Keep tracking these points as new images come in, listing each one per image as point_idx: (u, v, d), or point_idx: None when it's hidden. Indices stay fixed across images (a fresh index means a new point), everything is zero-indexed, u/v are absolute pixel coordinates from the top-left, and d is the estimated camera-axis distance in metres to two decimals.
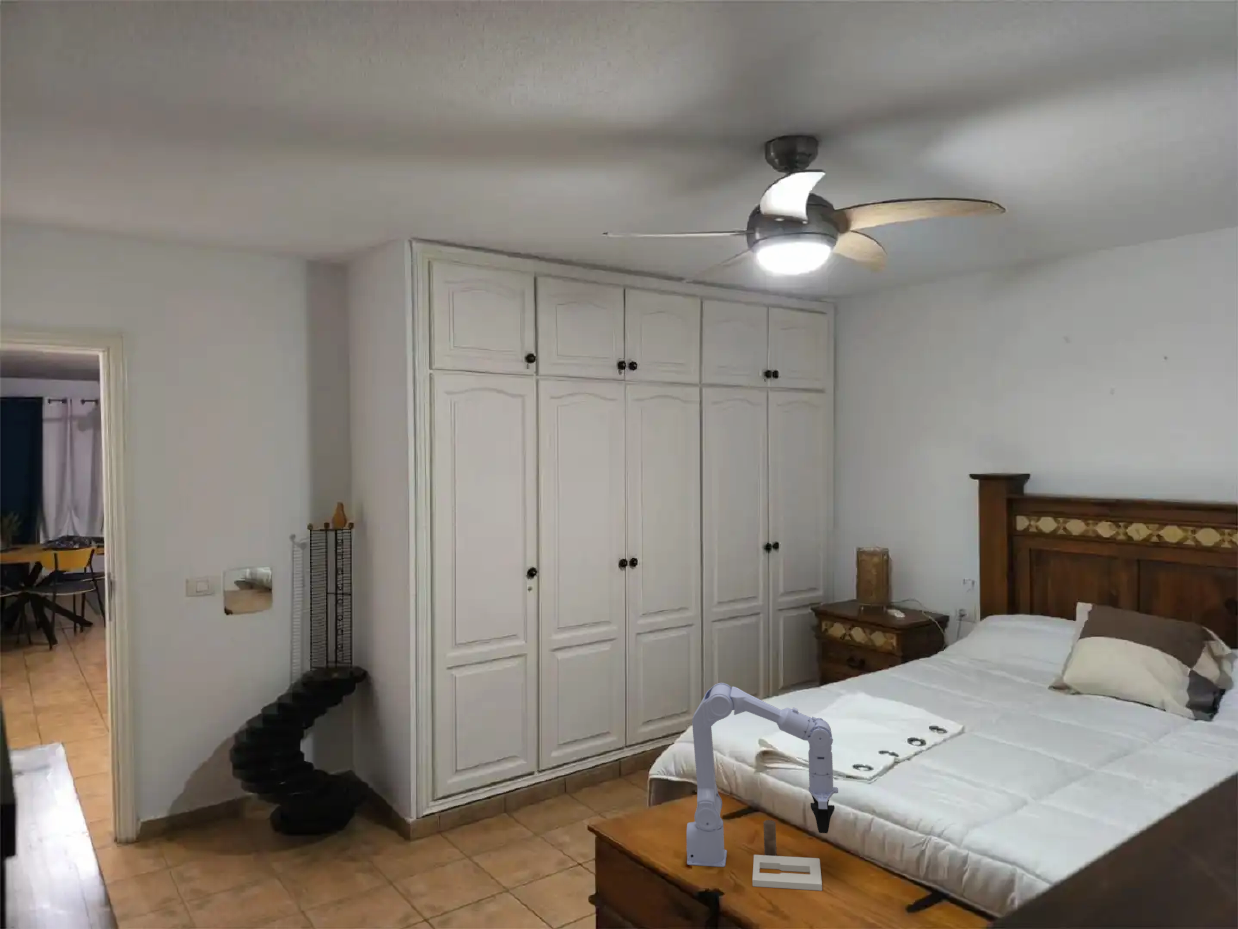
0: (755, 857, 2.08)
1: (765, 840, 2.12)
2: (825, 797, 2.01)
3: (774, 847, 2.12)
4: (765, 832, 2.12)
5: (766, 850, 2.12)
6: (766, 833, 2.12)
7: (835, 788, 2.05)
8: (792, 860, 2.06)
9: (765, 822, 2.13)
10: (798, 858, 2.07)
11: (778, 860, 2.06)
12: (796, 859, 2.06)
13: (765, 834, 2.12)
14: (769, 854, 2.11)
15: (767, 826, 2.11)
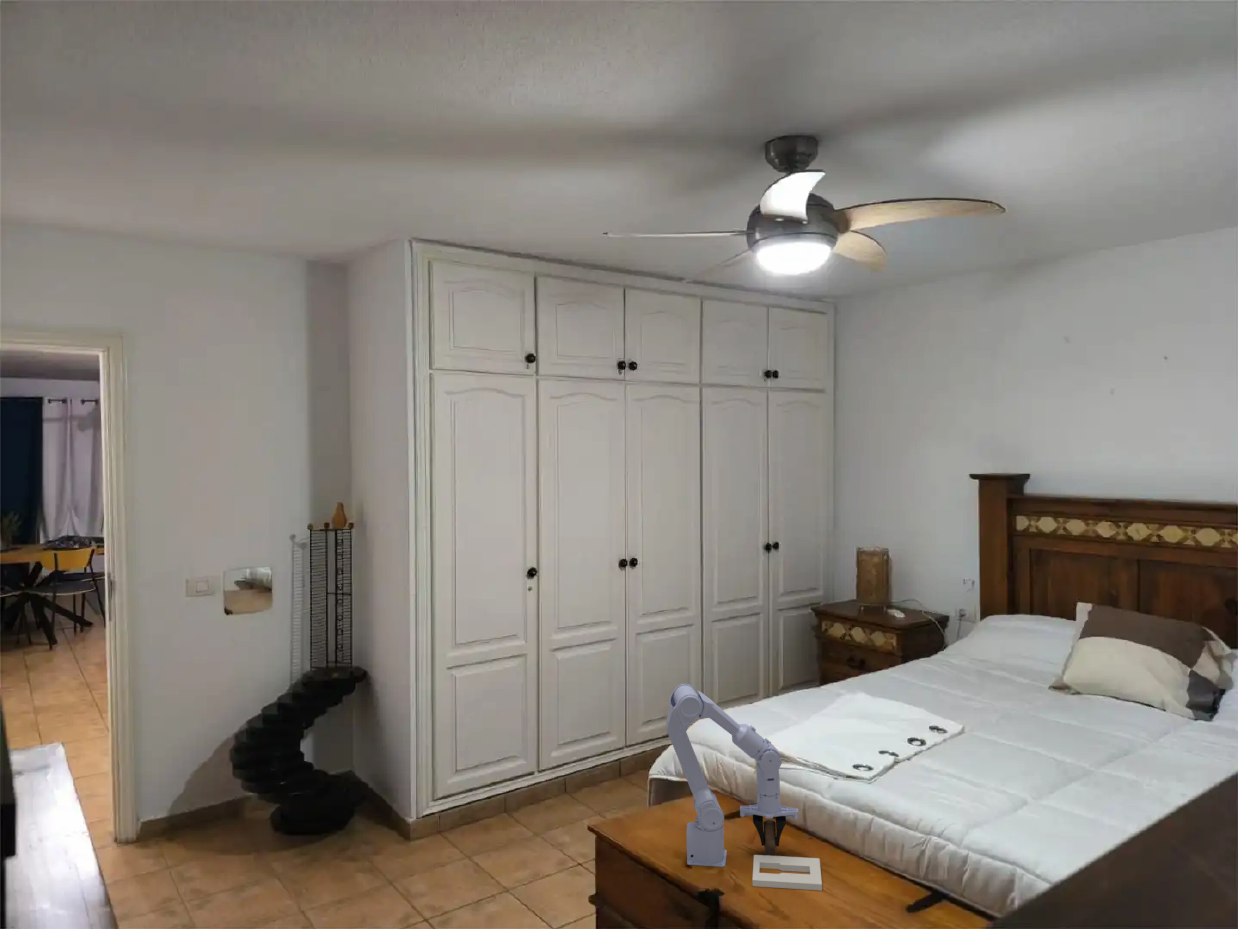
0: (755, 857, 2.08)
1: (765, 840, 2.12)
2: (750, 809, 2.13)
3: (774, 847, 2.12)
4: (765, 832, 2.12)
5: (766, 850, 2.12)
6: (766, 833, 2.12)
7: (770, 814, 2.09)
8: (792, 860, 2.06)
9: (765, 822, 2.13)
10: (798, 858, 2.07)
11: (778, 860, 2.06)
12: (796, 859, 2.06)
13: (765, 834, 2.12)
14: (769, 854, 2.11)
15: (767, 826, 2.11)
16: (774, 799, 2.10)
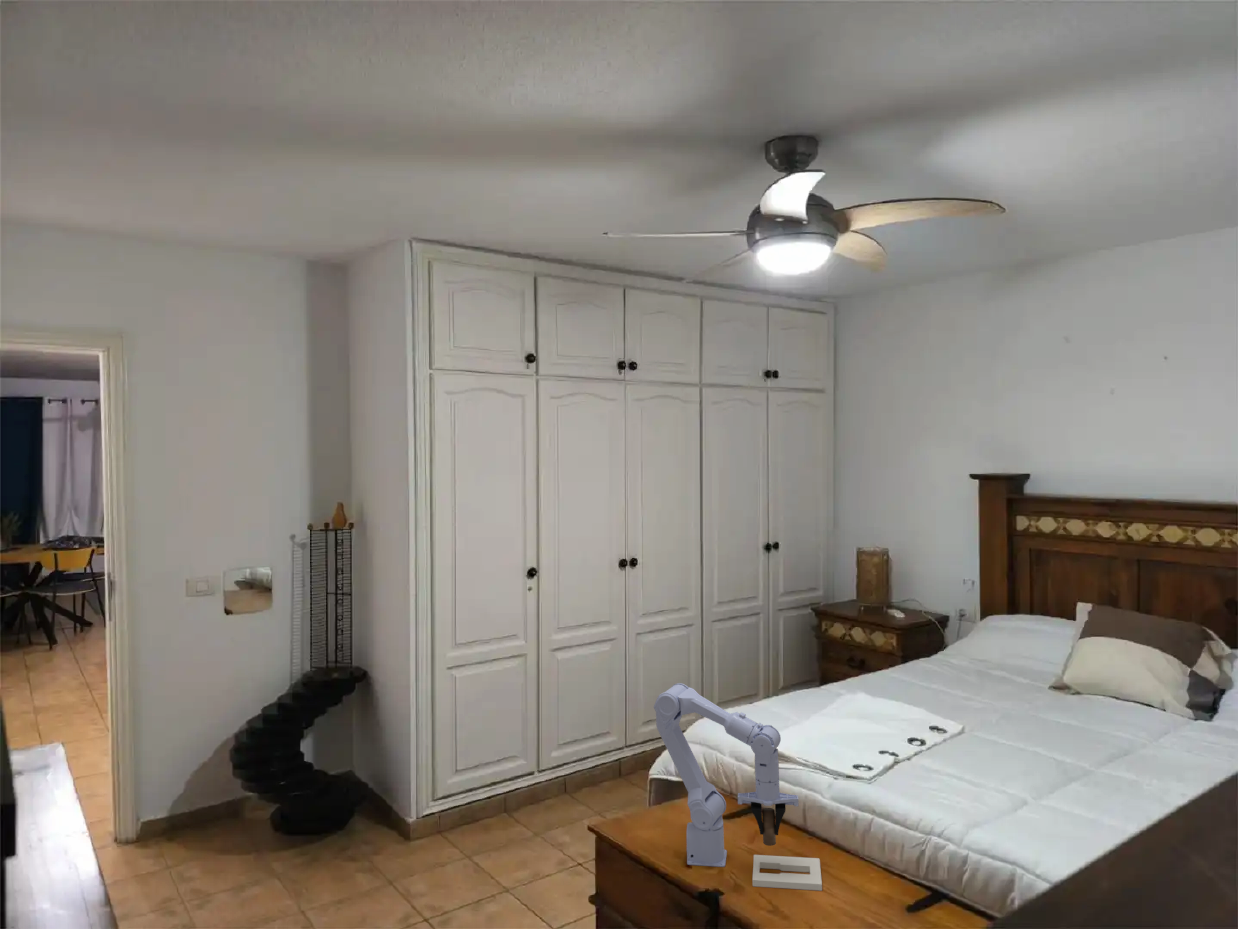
0: (755, 857, 2.08)
1: (764, 828, 2.04)
2: (748, 797, 2.04)
3: (773, 836, 2.03)
4: (764, 820, 2.03)
5: (765, 839, 2.03)
6: (765, 821, 2.03)
7: (769, 802, 2.00)
8: (792, 860, 2.06)
9: (764, 810, 2.04)
10: (798, 858, 2.07)
11: (778, 860, 2.06)
12: (796, 859, 2.06)
13: (764, 823, 2.03)
14: (768, 843, 2.03)
15: (766, 814, 2.03)
16: (773, 786, 2.01)
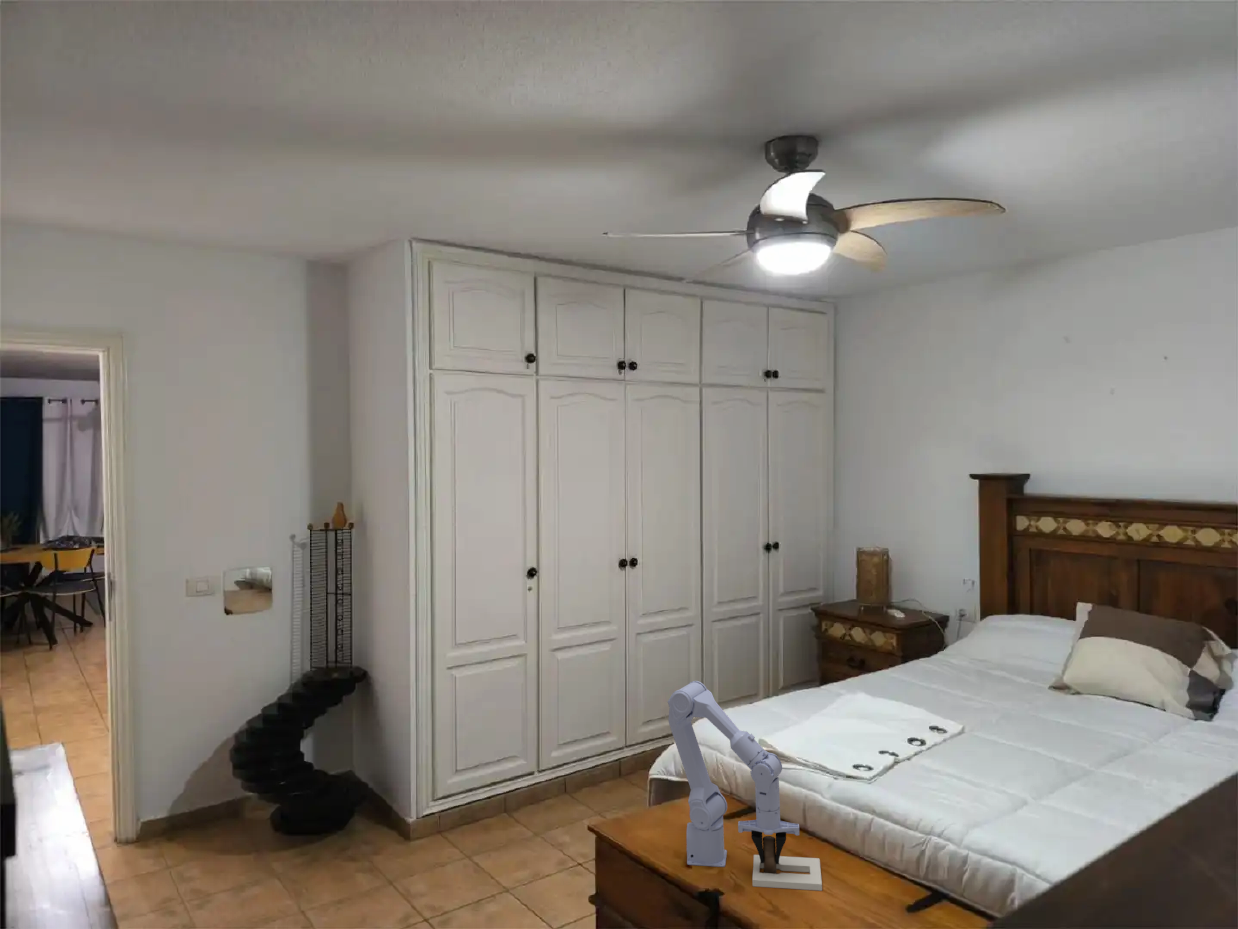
0: (755, 857, 2.08)
1: (764, 857, 2.02)
2: (748, 825, 2.03)
3: (774, 865, 2.02)
4: (764, 849, 2.02)
5: (765, 868, 2.02)
6: (765, 849, 2.02)
7: (769, 831, 1.99)
8: (792, 860, 2.06)
9: (764, 838, 2.03)
10: (798, 858, 2.07)
11: None
12: (796, 859, 2.06)
13: (764, 851, 2.02)
14: (769, 872, 2.02)
15: (767, 842, 2.02)
16: (774, 814, 2.00)
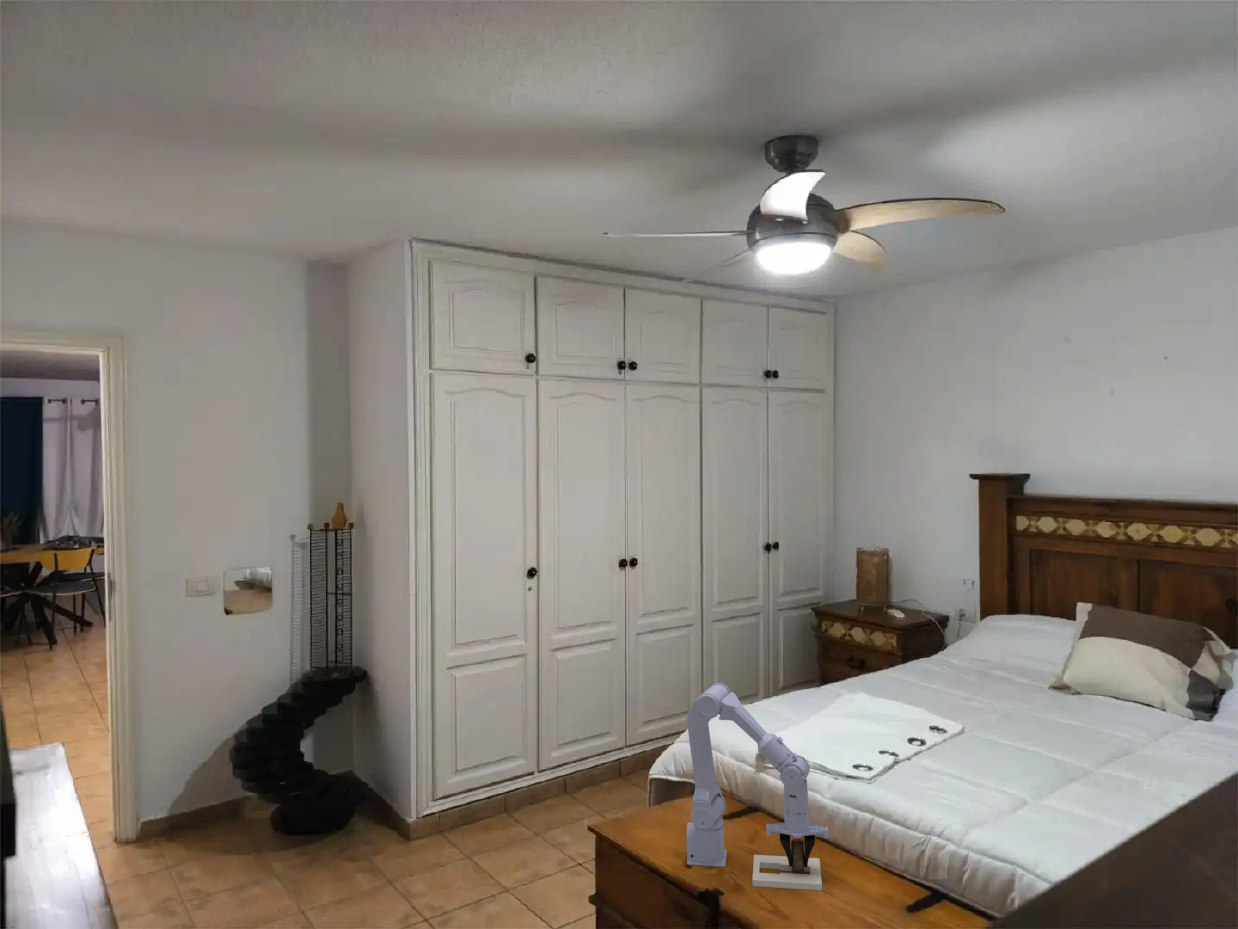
0: (755, 857, 2.08)
1: (793, 860, 2.01)
2: (777, 828, 2.01)
3: (802, 868, 2.01)
4: (793, 852, 2.01)
5: (794, 871, 2.01)
6: (794, 853, 2.01)
7: (798, 834, 1.98)
8: None
9: (793, 841, 2.02)
10: None
11: (778, 860, 2.06)
12: None
13: (793, 854, 2.01)
14: None
15: (795, 845, 2.00)
16: (803, 817, 1.98)
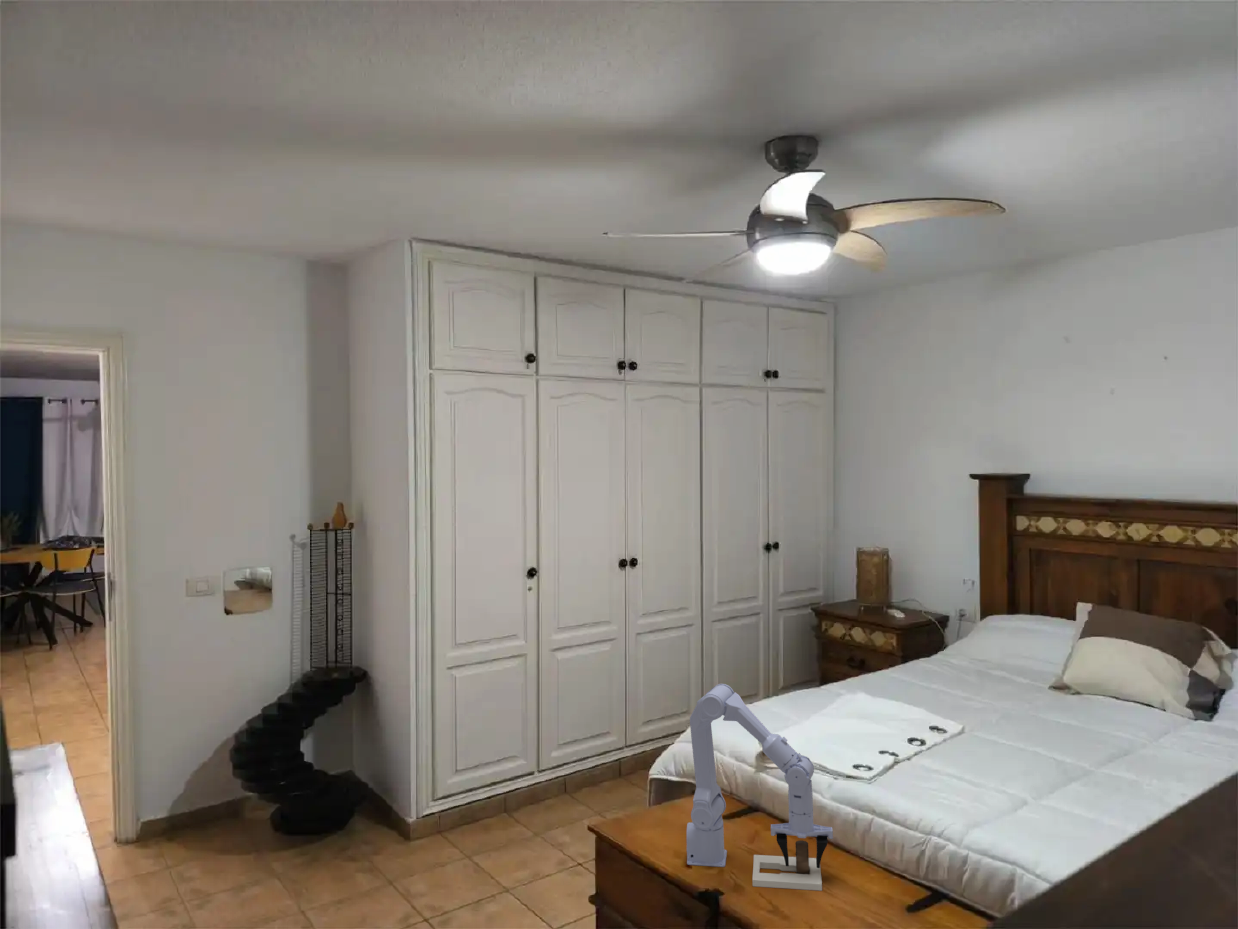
0: (755, 857, 2.08)
1: (797, 862, 2.01)
2: (781, 828, 2.01)
3: (807, 869, 2.00)
4: (797, 853, 2.01)
5: (798, 872, 2.01)
6: (798, 854, 2.00)
7: (803, 834, 1.98)
8: (792, 860, 2.06)
9: (797, 843, 2.01)
10: None
11: (778, 860, 2.06)
12: None
13: (797, 856, 2.01)
14: None
15: (800, 847, 2.00)
16: (807, 818, 1.98)
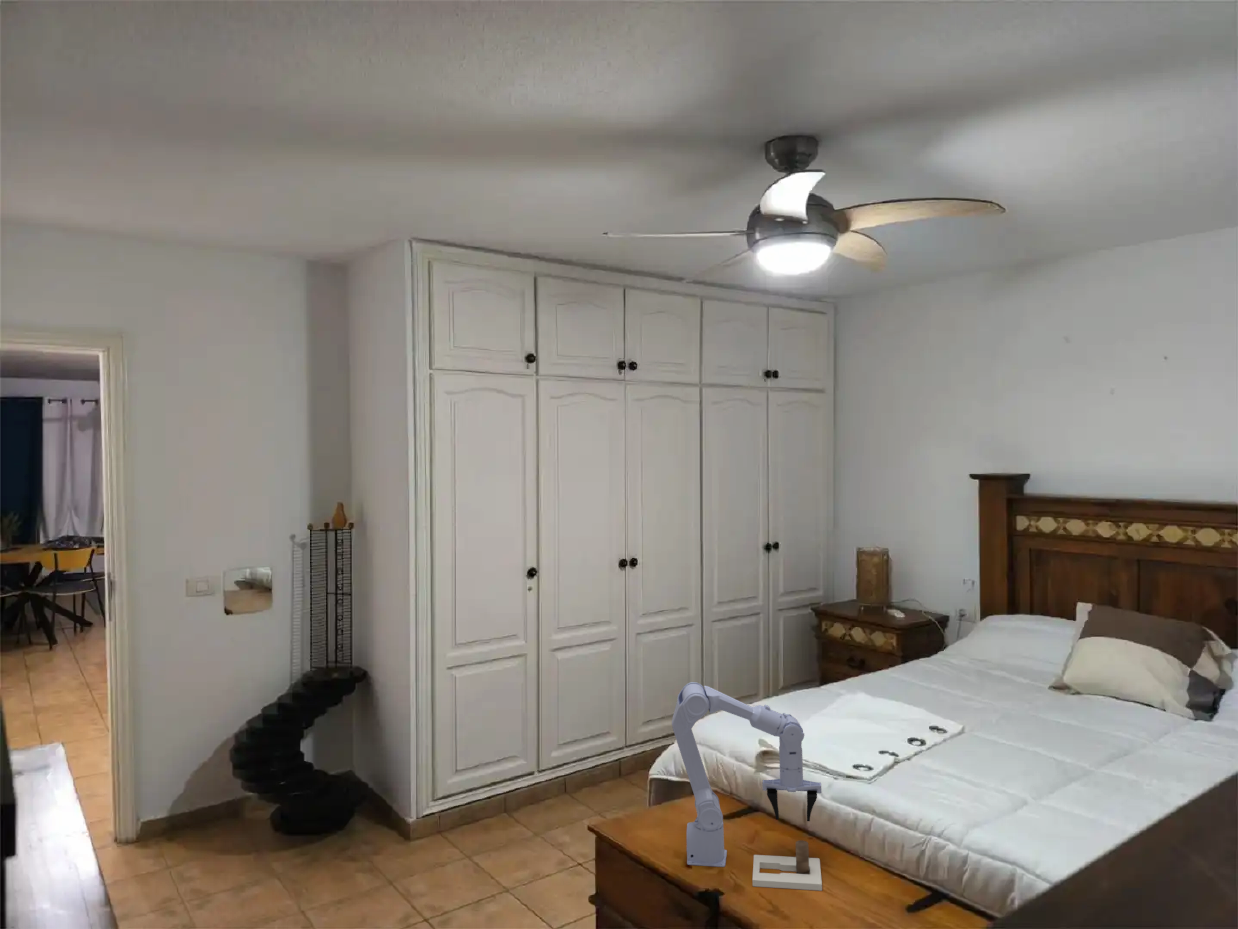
0: (755, 857, 2.08)
1: (797, 862, 2.01)
2: (772, 783, 2.11)
3: (807, 869, 2.00)
4: (797, 853, 2.01)
5: (798, 872, 2.01)
6: (799, 854, 2.00)
7: (792, 788, 2.07)
8: (792, 860, 2.06)
9: (797, 843, 2.01)
10: None
11: (778, 860, 2.06)
12: None
13: (797, 856, 2.01)
14: None
15: (800, 847, 2.00)
16: (797, 773, 2.08)
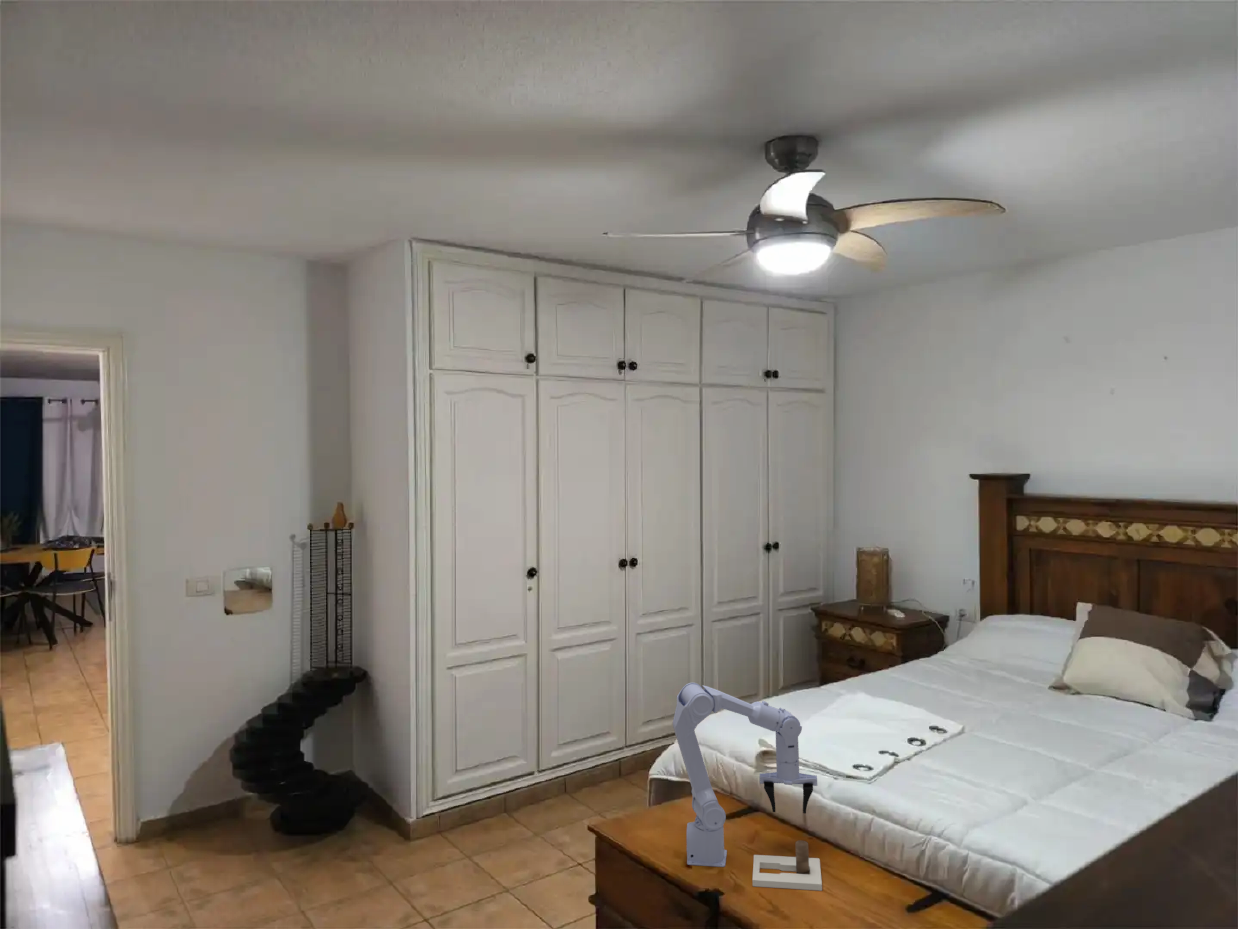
0: (755, 857, 2.08)
1: (797, 862, 2.01)
2: (769, 777, 2.15)
3: (807, 869, 2.00)
4: (797, 853, 2.01)
5: (798, 872, 2.01)
6: (798, 854, 2.00)
7: (789, 781, 2.12)
8: (792, 860, 2.06)
9: (797, 843, 2.01)
10: None
11: (778, 860, 2.06)
12: None
13: (797, 856, 2.01)
14: None
15: (800, 847, 2.00)
16: (793, 766, 2.12)
